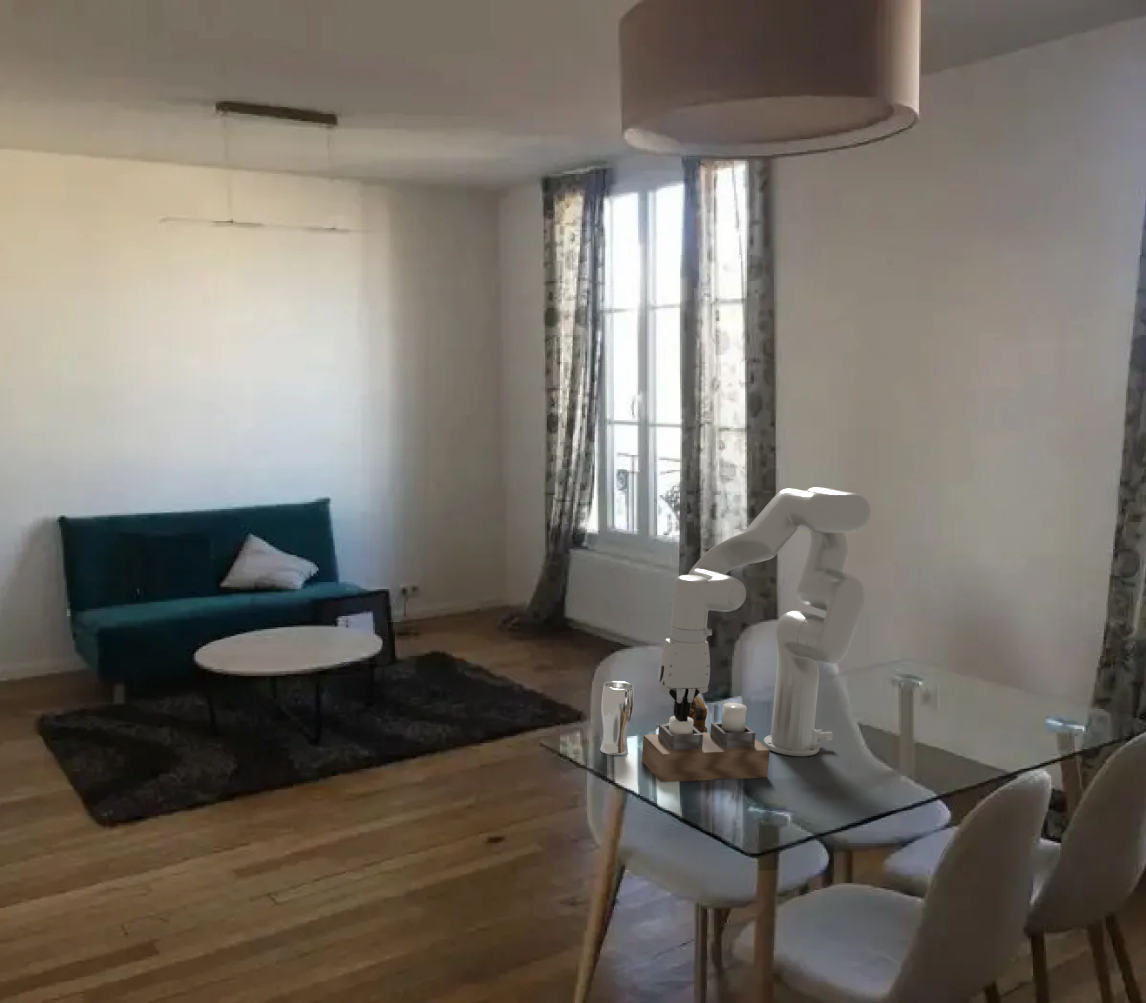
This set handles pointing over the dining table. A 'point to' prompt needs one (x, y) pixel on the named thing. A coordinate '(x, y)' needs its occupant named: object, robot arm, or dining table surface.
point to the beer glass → (616, 716)
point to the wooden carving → (698, 714)
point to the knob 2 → (734, 717)
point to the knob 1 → (681, 726)
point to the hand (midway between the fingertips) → (681, 719)
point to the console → (705, 755)
